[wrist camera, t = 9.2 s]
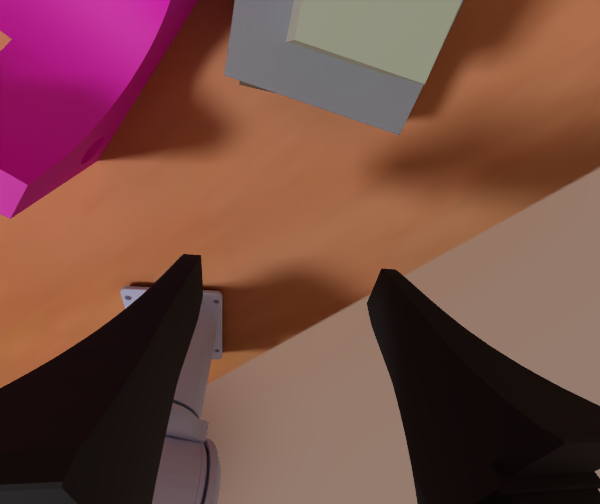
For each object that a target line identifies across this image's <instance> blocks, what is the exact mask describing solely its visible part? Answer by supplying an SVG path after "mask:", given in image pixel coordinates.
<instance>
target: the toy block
mask: <svg viewBox="0 0 600 504" xmlns="http://www.w3.org/2000/svg"><path fill="white" fill-rule="evenodd" d="M197 1H198V0H0V30H1V31H2V32H3V33H5V34H6V35H7V36H8V37H10V38H11V39H12V40H11V41H10V42H9V43H8V44H7V45H6V46H5V48H4V49H2V50H1V51H0V214H2V215H4V216H6V217H8V218H10V219H11V218H12V217H14V216H15V215H17V214H18V213H20V212H21V211H23V210H24V209H26V208H27V207H29V206H30V205H32V204H33V203H35V202H36V201H38V200H39V199H41V198H42V197H44V196H45V195H47V194H48V193H50V192H51V191H53V190H54V189H56V188H57V187H59V186H60V185H62V184H63V183H65V182H66V181H68V180H69V179H71V178H72V177H74V176H75V175H77V174H78V173H80V172H82V171H83V170H85V169H86V168H88V167H89V166H91V165H92V164H94V163H95V162H97V161H98V159H99V158H100V156H101V155H102V153H103V151H104V150H105V148H106V147H107V145H108V143H109V142H110V140H111V139H112V137H113V135H114V134H115V132H116V131H117V129H118V127H119V126H120V124H121V123H122V121H123V120H124V118H125V116H126V115H127V113H128V112H129V110H130V108H131V107H132V105H133V104H134V102H135V100H136V99H137V97H138V96H139V94H140V92H141V91H142V89H143V88H144V86H145V84H146V83H147V81H148V80H149V78H150V76H151V75H152V73H153V72H154V70H155V68H156V67H157V65H158V64H159V62H160V60H161V59H162V57H163V56H164V54H165V52H166V51H167V49H168V48H169V46H170V44H171V43H172V41H173V40H174V38H175V36H176V35H177V33H178V32H179V30H180V28H181V27H182V25H183V24H184V22H185V20H186V19H187V17H188V16H189V14H190V12H191V11H192V9H193V8H194V6H195V4H196V3H197Z"/></svg>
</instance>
